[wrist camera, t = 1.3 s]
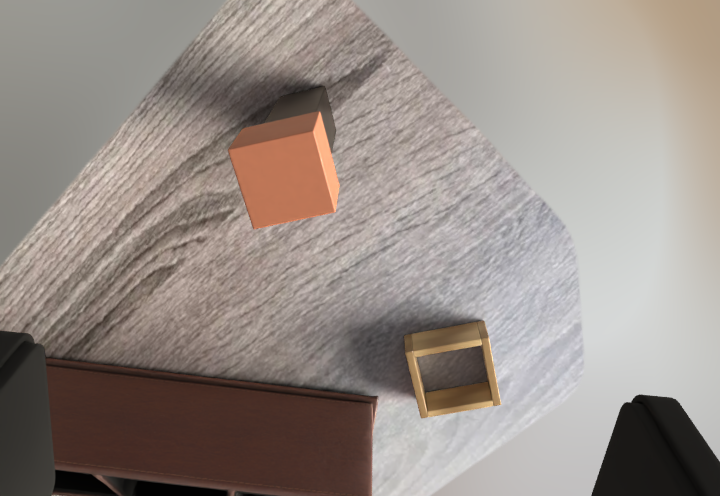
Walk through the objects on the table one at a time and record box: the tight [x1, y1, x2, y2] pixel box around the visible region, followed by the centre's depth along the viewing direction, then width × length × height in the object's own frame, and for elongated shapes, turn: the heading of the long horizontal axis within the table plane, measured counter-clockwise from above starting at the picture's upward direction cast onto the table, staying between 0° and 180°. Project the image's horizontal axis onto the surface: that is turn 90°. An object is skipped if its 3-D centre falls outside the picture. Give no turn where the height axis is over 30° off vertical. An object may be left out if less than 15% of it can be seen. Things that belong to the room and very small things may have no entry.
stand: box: [265, 86, 336, 154], centre depth 42 cm, size 3×3×10 cm
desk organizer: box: [45, 358, 378, 496], centre depth 53 cm, size 10×29×11 cm, turn 83°
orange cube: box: [228, 111, 339, 229], centre depth 36 cm, size 4×4×4 cm
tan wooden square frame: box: [404, 321, 501, 418], centre depth 54 cm, size 6×6×2 cm
